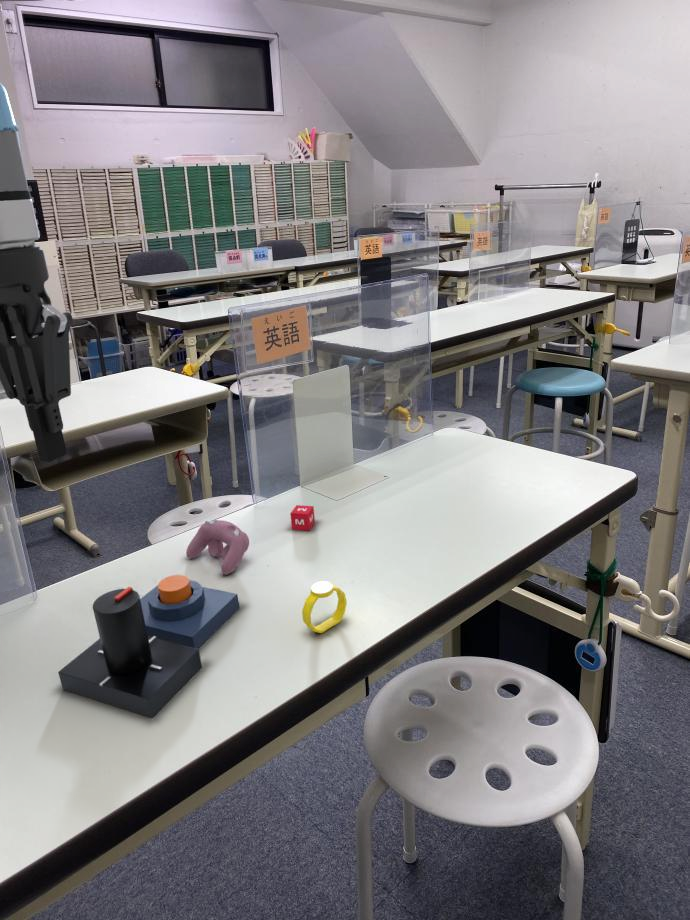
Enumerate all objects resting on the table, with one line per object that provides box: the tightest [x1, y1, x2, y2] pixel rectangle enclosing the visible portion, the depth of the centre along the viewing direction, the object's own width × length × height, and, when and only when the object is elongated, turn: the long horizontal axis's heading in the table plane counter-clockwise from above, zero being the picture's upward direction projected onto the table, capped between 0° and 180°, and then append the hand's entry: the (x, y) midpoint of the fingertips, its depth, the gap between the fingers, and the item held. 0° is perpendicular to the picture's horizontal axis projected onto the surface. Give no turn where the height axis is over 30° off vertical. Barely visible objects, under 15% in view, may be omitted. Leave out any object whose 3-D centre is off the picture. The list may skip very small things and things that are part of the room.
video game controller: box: [186, 519, 250, 576], centre depth 103 cm, size 10×5×7 cm, turn 49°
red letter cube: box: [290, 504, 316, 531], centre depth 112 cm, size 3×3×3 cm
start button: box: [157, 574, 192, 604], centre depth 88 cm, size 4×4×2 cm
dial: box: [92, 586, 151, 674], centre depth 77 cm, size 5×5×8 cm
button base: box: [140, 579, 240, 649], centre depth 89 cm, size 12×10×4 cm
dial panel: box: [57, 636, 203, 719], centre depth 79 cm, size 13×9×3 cm
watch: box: [301, 580, 348, 634], centre depth 85 cm, size 6×3×6 cm, turn 129°
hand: (53, 457), depth 80 cm, fingers closed
